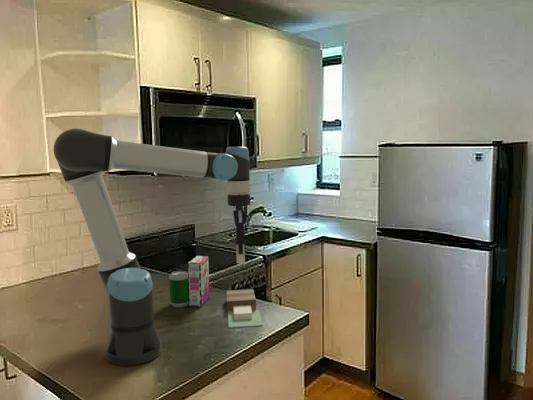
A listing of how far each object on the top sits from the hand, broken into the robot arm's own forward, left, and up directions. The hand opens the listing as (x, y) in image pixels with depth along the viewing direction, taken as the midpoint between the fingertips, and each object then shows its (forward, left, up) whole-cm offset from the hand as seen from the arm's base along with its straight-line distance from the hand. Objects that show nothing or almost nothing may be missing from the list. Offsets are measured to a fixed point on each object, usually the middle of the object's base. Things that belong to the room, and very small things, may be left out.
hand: (240, 262), depth 155 cm
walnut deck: (+10, 0, -19) cm, 21 cm away
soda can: (+15, +22, -19) cm, 32 cm away
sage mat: (-3, -1, -19) cm, 19 cm away
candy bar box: (+17, +15, -19) cm, 29 cm away
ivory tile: (0, 0, -18) cm, 18 cm away
